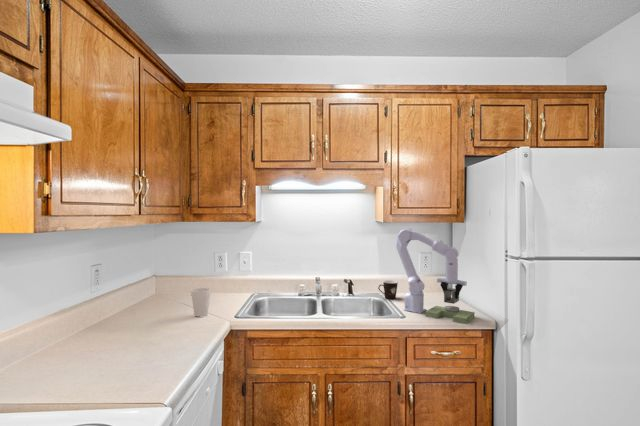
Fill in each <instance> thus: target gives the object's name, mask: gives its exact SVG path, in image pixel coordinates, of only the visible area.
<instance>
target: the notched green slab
mask: <svg viewBox="0 0 640 426" xmlns="http://www.w3.org/2000/svg"><path fill="white" fill-rule="evenodd" d="M425 317H428V318H433V319H439V318H440V317H447V318H452V321H453V323H460V324H465V325H466V324H468V323H469V322H470V321H471V320H473V319H475V311H469V310H465V309H460V307H459V306H456V305H446V306H439V305H435V306H433V307H431V308H429V309H428V310H427V309H426V310H425Z"/></svg>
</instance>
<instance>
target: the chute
mask: <svg viewBox="0 0 640 426" xmlns="http://www.w3.org/2000/svg"><path fill="white" fill-rule="evenodd" d="M459 301H460V296H459V297H458V299H456V289H455V288H451V287H449V288H447V289H446V290H444V292H443V302H444V303H447V304H453V305H454V304H456V303H457V302H459Z"/></svg>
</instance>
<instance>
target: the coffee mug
mask: <svg viewBox="0 0 640 426" xmlns="http://www.w3.org/2000/svg"><path fill="white" fill-rule="evenodd" d="M398 284H399V283H398V281H396V280H390V279H389V280H384V281H383V284H379V285H378V291H380V293H382V294H384V299H385V300H390V301H391V300H397V299H396V298H397V293H398V292H397V290H398ZM381 286H382V287H383V291H382V290H381V289H380V288H381Z"/></svg>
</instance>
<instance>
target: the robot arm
mask: <svg viewBox="0 0 640 426" xmlns="http://www.w3.org/2000/svg"><path fill="white" fill-rule="evenodd" d="M396 239H397V240H396V246H395V247H396V251H397V253H398V255H399V257H400V260H401V263H402V265H403V268H404V271H405V273H406V276H407V284H408V291H409V292H406V294H405V295H404V308H403V310H404V311H405V312H412V313H418V314H421V313H423V312H426V311H427V308H425V307H424V299H425V298H424V296H425V295H424V290H425V283H424V282H423V280H422V279H421V278H420V276H419V275H418V274H417V270H416V268H415V265H414V263H413V261H412V260H413V259H412V258H411V255H410V254H409V250H408V248H407V247H408V245H409V243H410V242H411V241H419V242H421V243H423V244H425V245H427V246H429V247H431V249H432V251H434V252H436V253H438V254H440V255H441V256H443V257H445V258H446V262H445V278H441V277H438V278H436V283H439V284H440V287H441V289H442V292H443V293H444V290H446V289H448V287H449V284H450V285H455V286H454V287H455V288H454V289H456V299H458V297H459V298H460V293H461V290H462V288H463V286H464V287H465V286H466V287H467V285H468V283H467V281H465V280H460V279H459V278H458V277H459V275H458V274H459V273H458V271H459V266H458V265H459V263H458V261H459V260H458V257H459V254H460V253H459V250H458V249H457V248H456V247H452V245H448V244H446V243H444V241H443V240H433V239H431V238H430V237H427V236H426V235H425V234H423V233H421V232H419V231H417V230H413V229H412V228H405V229H401V230H400V231H399V233H398V234H397V238H396Z"/></svg>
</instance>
